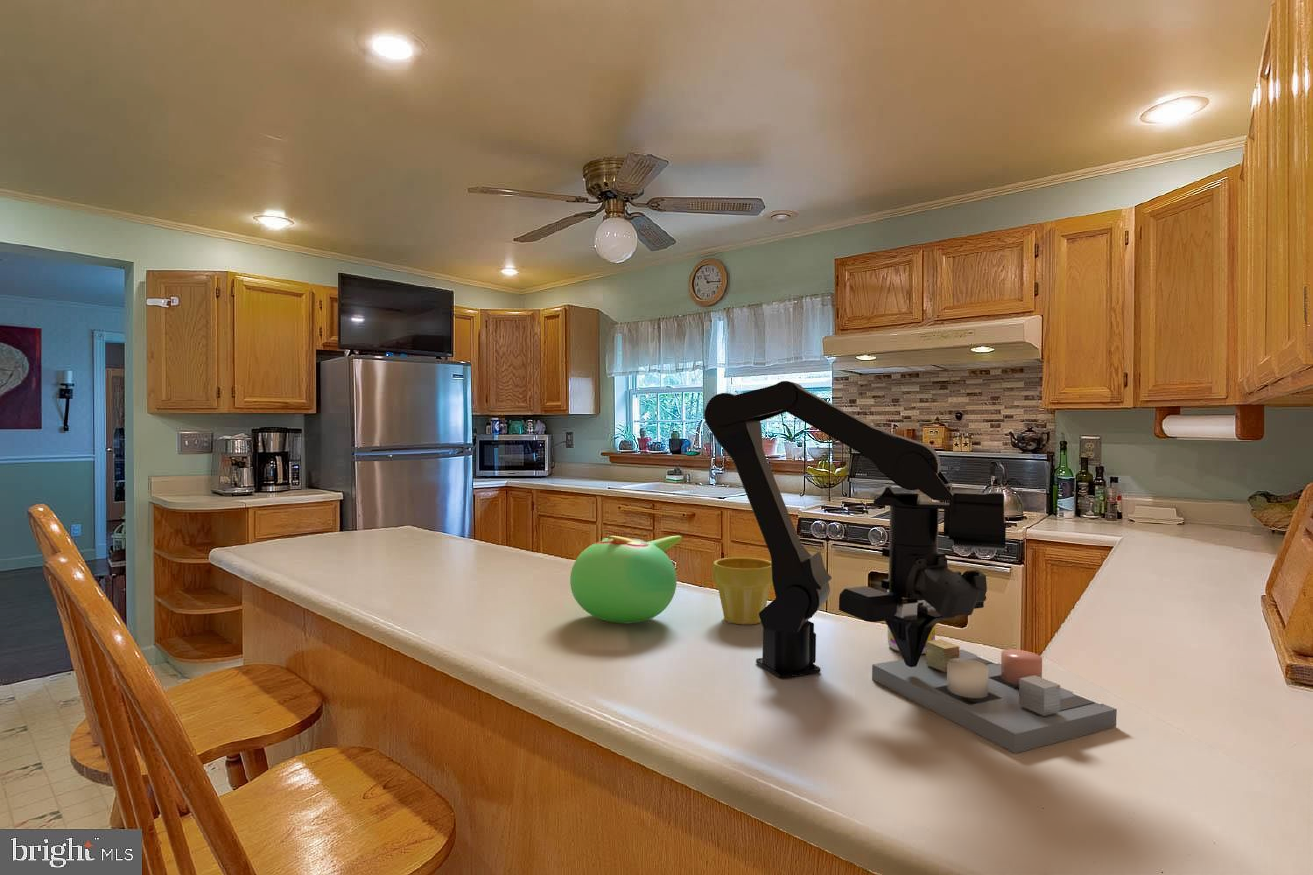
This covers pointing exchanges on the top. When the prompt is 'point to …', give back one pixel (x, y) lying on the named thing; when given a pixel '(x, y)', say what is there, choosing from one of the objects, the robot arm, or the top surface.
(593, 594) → the toy bird
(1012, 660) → the button rust
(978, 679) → the button ivory
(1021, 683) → the lever grey
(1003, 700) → the panel
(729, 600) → the plant pot
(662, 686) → the top surface
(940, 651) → the brushed gold cube
